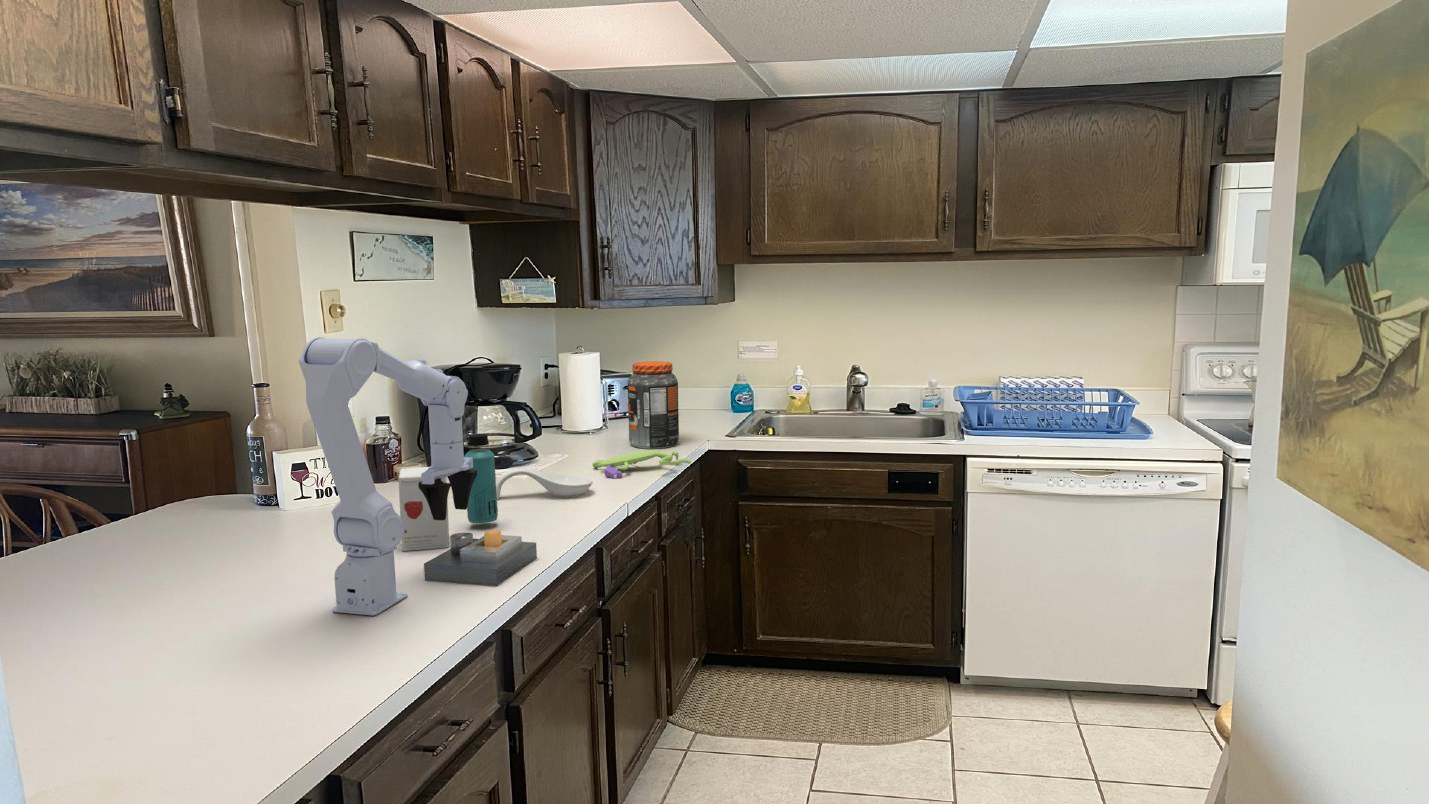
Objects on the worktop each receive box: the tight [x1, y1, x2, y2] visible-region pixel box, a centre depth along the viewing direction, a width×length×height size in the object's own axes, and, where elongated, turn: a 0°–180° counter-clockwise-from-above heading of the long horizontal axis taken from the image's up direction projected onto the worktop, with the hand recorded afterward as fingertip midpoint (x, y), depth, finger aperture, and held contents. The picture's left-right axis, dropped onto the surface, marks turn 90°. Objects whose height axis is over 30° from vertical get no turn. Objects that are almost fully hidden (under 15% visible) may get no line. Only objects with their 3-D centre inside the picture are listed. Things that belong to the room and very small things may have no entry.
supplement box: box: [398, 466, 450, 552], centre depth 182 cm, size 9×9×15 cm
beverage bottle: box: [464, 433, 499, 524], centre depth 194 cm, size 6×7×20 cm
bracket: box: [460, 534, 523, 563], centre depth 166 cm, size 10×7×2 cm
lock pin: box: [483, 529, 502, 547], centre depth 166 cm, size 3×3×7 cm
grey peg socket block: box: [423, 532, 538, 587], centre depth 167 cm, size 16×14×6 cm
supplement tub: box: [627, 361, 680, 450], centre depth 285 cm, size 16×16×26 cm
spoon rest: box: [496, 467, 593, 501], centre depth 222 cm, size 24×12×7 cm, turn 103°
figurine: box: [591, 449, 692, 479], centre depth 248 cm, size 18×27×6 cm
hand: (450, 514), depth 167 cm, fingers open, 7 cm apart
